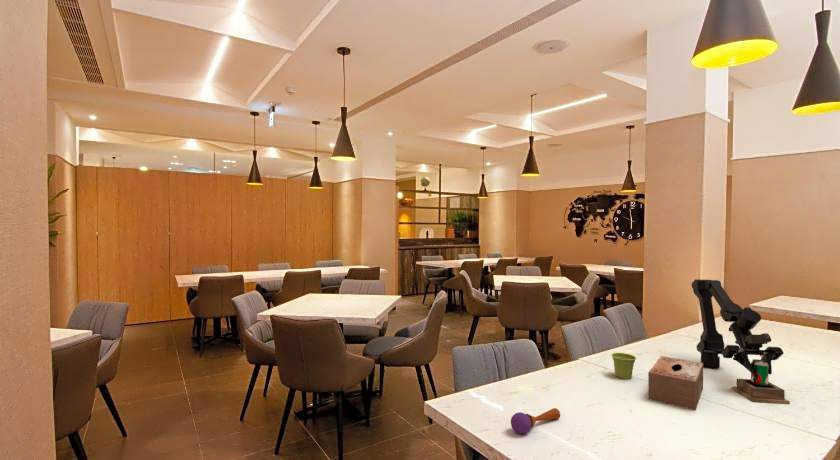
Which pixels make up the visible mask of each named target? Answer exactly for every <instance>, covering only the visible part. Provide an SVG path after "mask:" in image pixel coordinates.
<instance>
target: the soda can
mask: <svg viewBox="0 0 840 460" xmlns="http://www.w3.org/2000/svg"><path fill="white" fill-rule="evenodd" d="M750 363H751V365H752V367H753V369H754V372H755V373H754V374H752V373H751V372H750V379H751V385H753V386H754V387H761V388H768V382H769V377H770V376H769V365H768V364H767V362H766V361H763V360H761V359H753V358H752V361H750Z"/></svg>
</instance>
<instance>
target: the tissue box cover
mask: <svg viewBox="0 0 840 460" xmlns="http://www.w3.org/2000/svg"><path fill="white" fill-rule="evenodd" d="M647 382H648V385H647V386H648V391H647V392H648V393H647V394H648V395H647V396H648V397H647V398H648V400H649V401H655V402H659V403H663V404H667V405H671V406H676V407H681V408H685V409H689V410H693V411H696V410H697V407H698V405H699V401H700V399H701V395H702V392H703V389H704V367H703V363H701V361H700V362H699V361H693V360H687V359H683V358H682V359H681V358H675V357H670V356H664V355H660V356H659V358H658V359H657V360H656V362H655V363H654V364H653V366H652V367H651V368H650V369H649V371H648V379H647Z"/></svg>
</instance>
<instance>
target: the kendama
mask: <svg viewBox="0 0 840 460" xmlns="http://www.w3.org/2000/svg"><path fill="white" fill-rule="evenodd" d="M560 418H561V412H560V410H559V409H558V408H556V407H554V408H552V409H549V410H547V411H545V412H543V413H541V414H538V415H537V416H536V415H535V416H533V415H531V414H528V413H524V412H522V411H521V412H515V413H514V414H513V415H512V416H511V418H510V426H511V428H512V430H513V432H515V433H517V434H519V435H525V434H527V433H529V431H530V430H531V429H532V428H533V427H534V425H535V424H536V422H538V421H539V422H540V421H549V420H560Z"/></svg>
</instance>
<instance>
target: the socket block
mask: <svg viewBox="0 0 840 460" xmlns="http://www.w3.org/2000/svg"><path fill="white" fill-rule="evenodd" d="M731 389H732V391H735V392H736V393H738V394H740V395H741V396H742V397H744V398H746V399H747V400H749V401H750V402H751V403H763V404H764V403H765V404H781V405H782V404H784V405H790V404H791V403H790V400H789V399H787V398H785V397H786V396H785V390H784V389H783V388H781V387H779V385H778V386H777V385H775V384H773V383H772V382H770V381H768V388H761V387H754V386H753V385H751V378H749V379H748V378H736V386H732V387H731Z"/></svg>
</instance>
